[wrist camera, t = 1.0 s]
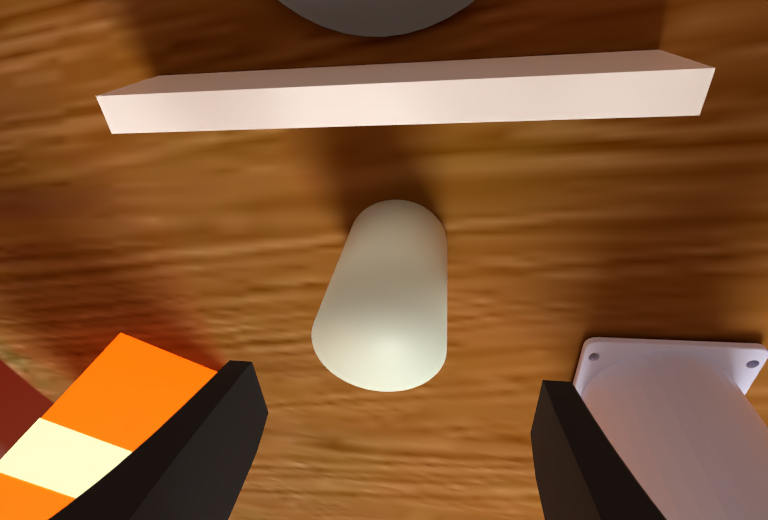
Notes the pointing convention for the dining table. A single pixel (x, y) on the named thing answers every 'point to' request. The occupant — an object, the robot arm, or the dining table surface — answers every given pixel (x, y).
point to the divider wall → (416, 93)
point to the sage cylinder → (387, 300)
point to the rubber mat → (376, 14)
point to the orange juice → (95, 426)
